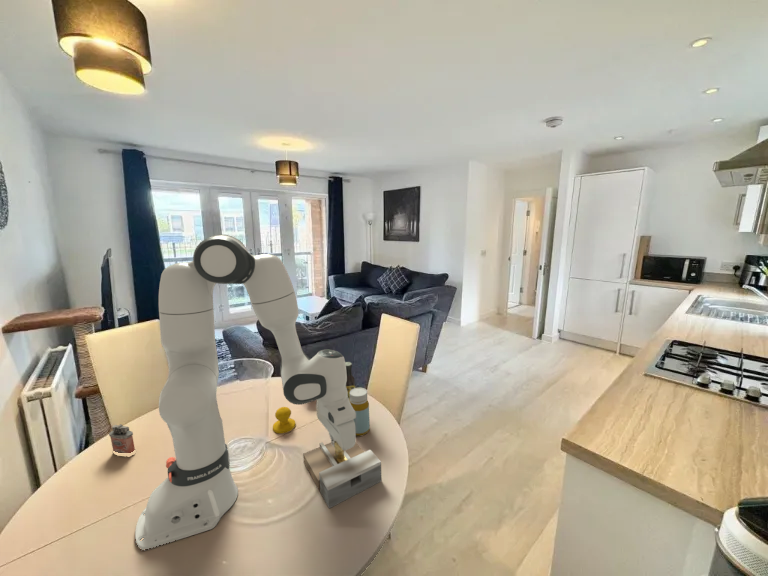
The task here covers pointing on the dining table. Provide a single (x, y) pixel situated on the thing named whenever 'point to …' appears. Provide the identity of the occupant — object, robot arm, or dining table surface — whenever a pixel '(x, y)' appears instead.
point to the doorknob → (283, 421)
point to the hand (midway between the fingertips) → (335, 445)
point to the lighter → (122, 439)
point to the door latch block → (342, 472)
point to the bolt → (339, 454)
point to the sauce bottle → (349, 378)
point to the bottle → (360, 410)
